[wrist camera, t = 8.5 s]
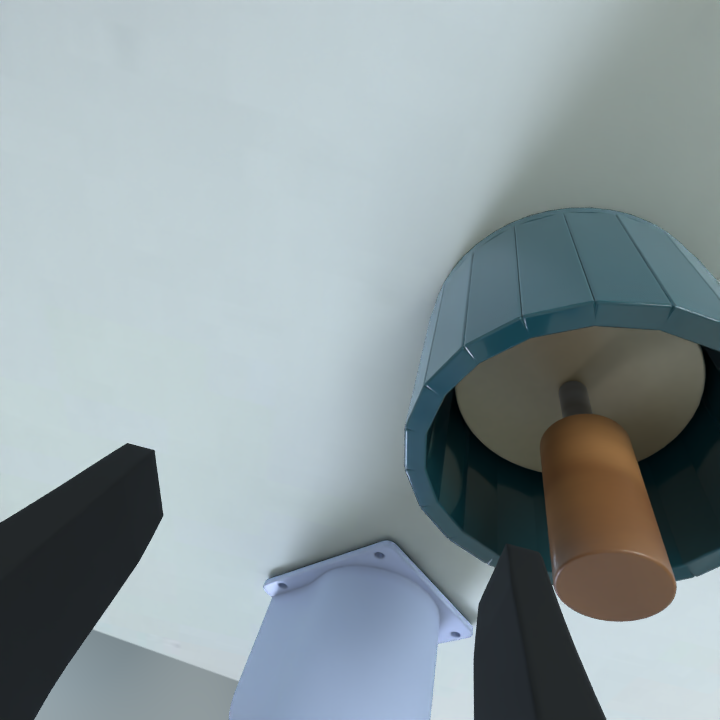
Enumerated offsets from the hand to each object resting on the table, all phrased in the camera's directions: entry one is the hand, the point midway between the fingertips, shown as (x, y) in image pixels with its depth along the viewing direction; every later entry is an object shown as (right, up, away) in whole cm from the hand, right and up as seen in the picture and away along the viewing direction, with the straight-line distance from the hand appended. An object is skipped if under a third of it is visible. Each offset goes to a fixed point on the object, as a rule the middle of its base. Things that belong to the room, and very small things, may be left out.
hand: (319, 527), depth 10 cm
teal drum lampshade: (+8, +4, +8) cm, 12 cm away
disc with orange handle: (+8, +4, +7) cm, 11 cm away
